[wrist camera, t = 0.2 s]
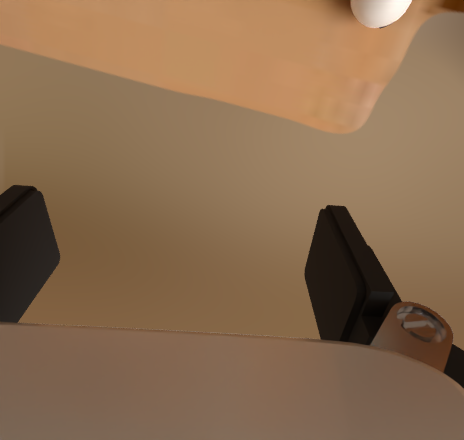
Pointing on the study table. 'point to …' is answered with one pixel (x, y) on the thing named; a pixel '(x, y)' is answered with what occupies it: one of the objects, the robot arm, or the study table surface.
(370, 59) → the study table surface
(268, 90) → the study table surface
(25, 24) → the study table surface
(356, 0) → the white egg
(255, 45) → the study table surface
